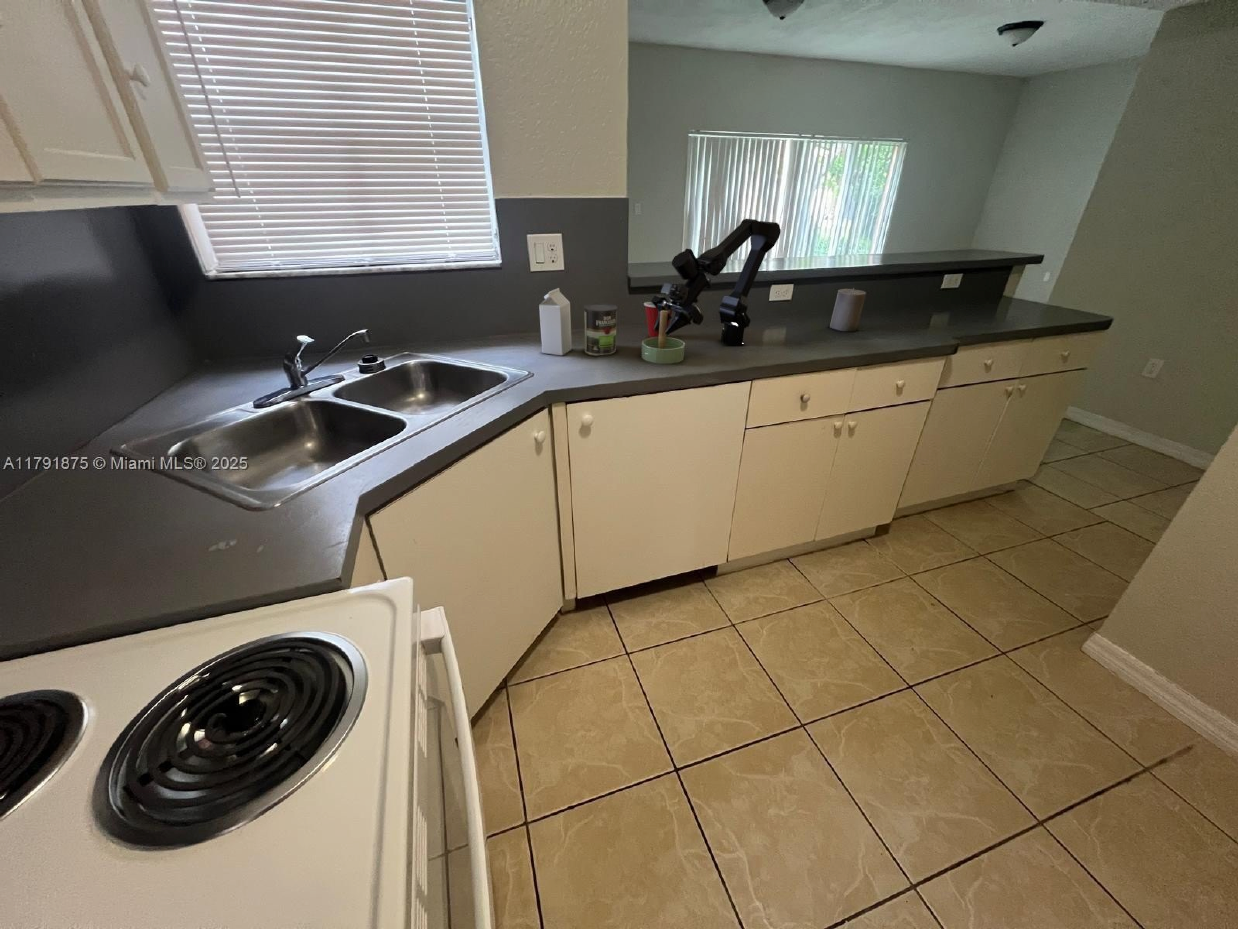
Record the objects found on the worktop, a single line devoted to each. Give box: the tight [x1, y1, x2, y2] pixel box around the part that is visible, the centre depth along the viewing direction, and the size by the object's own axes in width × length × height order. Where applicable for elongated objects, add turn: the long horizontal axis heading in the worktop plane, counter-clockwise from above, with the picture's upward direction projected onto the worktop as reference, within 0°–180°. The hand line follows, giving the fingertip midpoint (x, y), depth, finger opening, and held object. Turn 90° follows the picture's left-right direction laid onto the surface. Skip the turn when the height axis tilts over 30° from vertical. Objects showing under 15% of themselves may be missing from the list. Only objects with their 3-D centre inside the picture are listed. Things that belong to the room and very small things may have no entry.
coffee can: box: [583, 302, 618, 357], centre depth 154 cm, size 10×10×14 cm
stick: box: [658, 310, 668, 349], centre depth 148 cm, size 5×5×14 cm
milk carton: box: [538, 287, 572, 356], centre depth 151 cm, size 7×7×19 cm
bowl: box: [640, 336, 686, 365], centre depth 151 cm, size 13×13×5 cm
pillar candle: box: [829, 287, 867, 333], centre depth 183 cm, size 10×10×15 cm
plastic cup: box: [643, 301, 673, 338], centre depth 169 cm, size 11×11×12 cm
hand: (660, 332), depth 147 cm, fingers open, 5 cm apart
